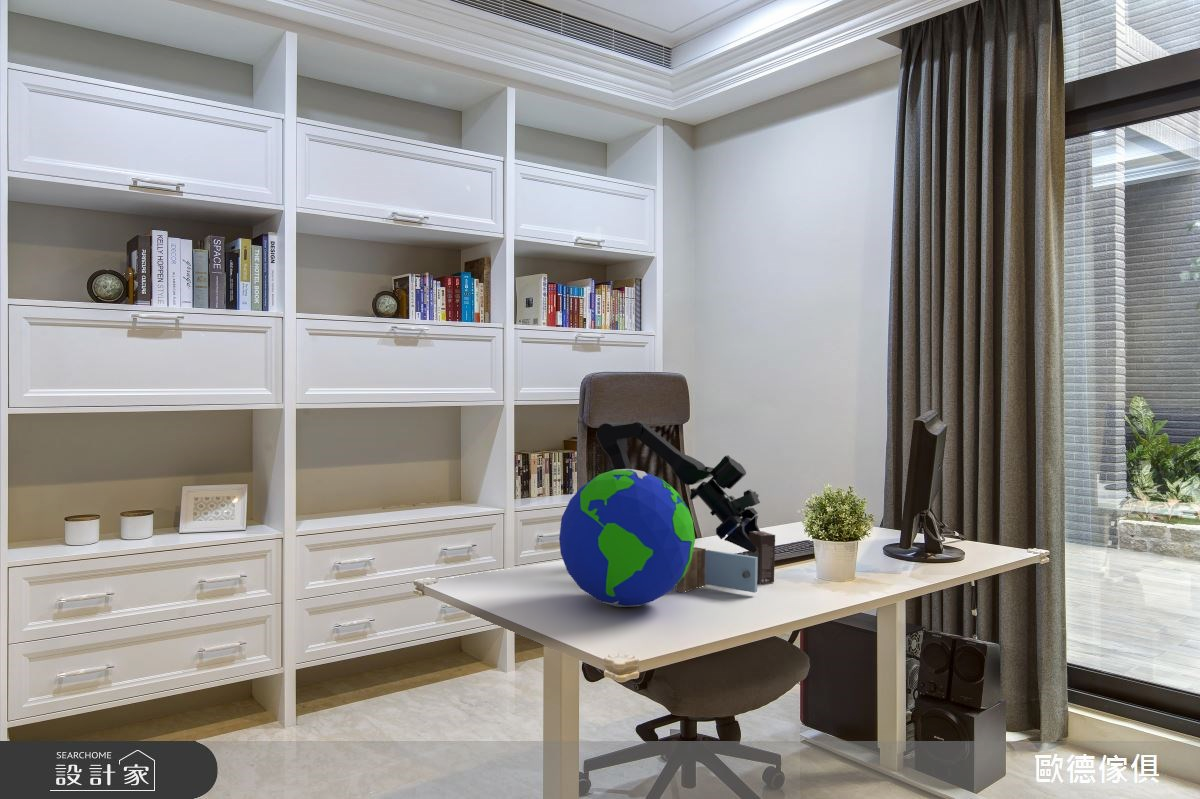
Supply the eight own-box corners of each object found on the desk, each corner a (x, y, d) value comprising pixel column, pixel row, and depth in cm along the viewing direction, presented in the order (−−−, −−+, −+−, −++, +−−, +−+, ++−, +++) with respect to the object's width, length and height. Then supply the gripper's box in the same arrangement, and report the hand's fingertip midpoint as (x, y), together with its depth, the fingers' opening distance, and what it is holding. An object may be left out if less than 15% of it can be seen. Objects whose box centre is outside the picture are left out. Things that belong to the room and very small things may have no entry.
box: (775, 583, 203) (776, 534, 203) (759, 584, 201) (760, 535, 201) (762, 577, 209) (763, 530, 208) (746, 579, 207) (747, 531, 207)
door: (702, 585, 196) (702, 551, 196) (707, 583, 198) (707, 549, 198) (752, 593, 188) (753, 558, 188) (757, 591, 190) (757, 557, 190)
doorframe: (685, 593, 192) (686, 554, 192) (674, 591, 194) (675, 552, 194) (731, 576, 210) (732, 541, 209) (721, 574, 211) (721, 539, 211)
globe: (545, 620, 168) (547, 474, 168) (570, 585, 198) (572, 461, 197) (692, 628, 164) (694, 478, 164) (695, 591, 194) (697, 464, 193)
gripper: (729, 483, 199) (774, 533, 194) (750, 476, 215) (791, 521, 211) (697, 514, 202) (741, 563, 198) (720, 504, 219) (761, 549, 214)
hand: (760, 548), depth 205 cm, fingers open, 9 cm apart
